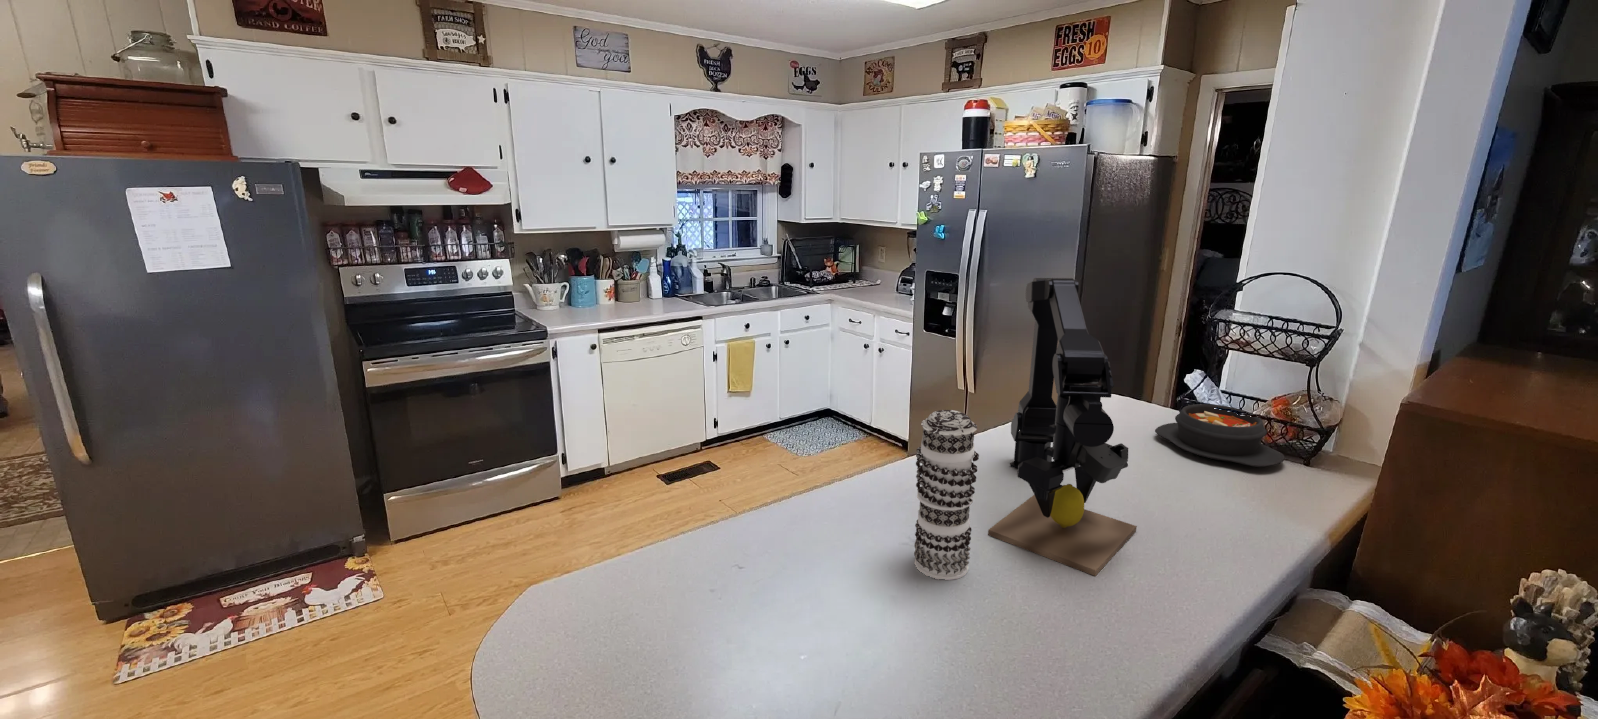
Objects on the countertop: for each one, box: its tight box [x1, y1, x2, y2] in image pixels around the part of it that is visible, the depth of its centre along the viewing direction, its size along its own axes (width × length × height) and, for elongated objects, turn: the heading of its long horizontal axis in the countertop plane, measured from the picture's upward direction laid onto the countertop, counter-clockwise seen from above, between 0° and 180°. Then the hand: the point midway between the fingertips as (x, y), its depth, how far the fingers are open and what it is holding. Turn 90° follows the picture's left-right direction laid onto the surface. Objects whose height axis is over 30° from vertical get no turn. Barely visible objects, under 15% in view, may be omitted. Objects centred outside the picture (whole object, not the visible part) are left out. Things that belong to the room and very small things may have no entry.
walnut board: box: [987, 494, 1138, 577], centre depth 117 cm, size 18×18×1 cm
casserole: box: [1154, 403, 1285, 468], centre depth 148 cm, size 25×19×8 cm
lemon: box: [1050, 483, 1085, 528], centre depth 116 cm, size 6×6×8 cm
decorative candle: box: [913, 409, 980, 581], centre depth 105 cm, size 9×9×25 cm
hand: (1064, 509), depth 116 cm, fingers open, 9 cm apart
